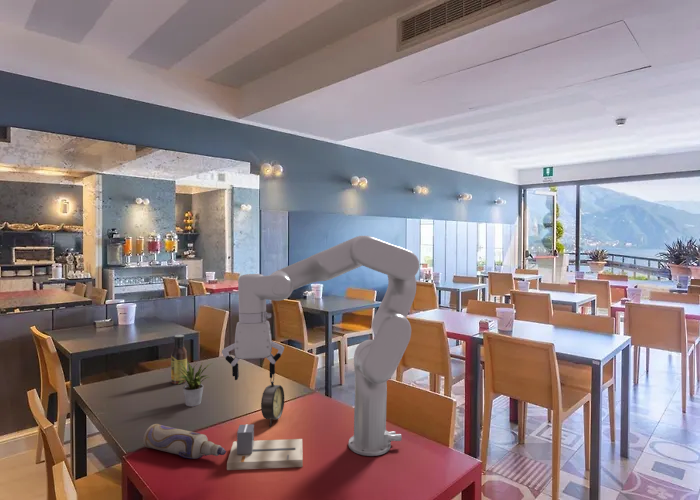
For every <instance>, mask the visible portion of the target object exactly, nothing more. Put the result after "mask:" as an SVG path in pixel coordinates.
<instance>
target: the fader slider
mask: <svg viewBox="0 0 700 500" xmlns="http://www.w3.org/2000/svg"><path fill="white" fill-rule="evenodd" d="M236 441H237V454H252V451H253V446H254V441H255V424H254V423H253V424H248V423H247V424H239V426H238V429H237V433H236Z"/></svg>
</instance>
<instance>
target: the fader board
mask: <svg viewBox="0 0 700 500" xmlns="http://www.w3.org/2000/svg"><path fill="white" fill-rule="evenodd" d="M303 452H304V451H303V438H291V439H287V438H286V439H266V440H263V439H262V440H259V439H258V440H254V446H253V451H252V454H237V440H235V441H233V442H232V446H231V447H230V453H229V455H228V459H227V462H226V470H227V471H237V470H239V471H240V470H241V471H242V470H259V469H261V470H262V469H281V468H303V467H304V466H303V463H304V461H303V459H304V458H303V457H304V456H303V455H304V454H303Z"/></svg>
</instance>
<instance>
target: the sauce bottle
mask: <svg viewBox="0 0 700 500" xmlns="http://www.w3.org/2000/svg"><path fill="white" fill-rule="evenodd" d="M173 340H174V343H173V348H172V351H171V353H170V380H171V384H173V385H178V384H179V382H180V381H182V380H185V379H182V377H181V376H182V375H183V374H184V375H186V374H187V373H186V374H185V373H184V371H185V370H184V368H183V366H182V365H181V364H183V365H184V367H185V369H186V370H187V371H188V363H187V361H188V350H187V348H186V347H185V335H184V334H175V335H174V336H173ZM178 362H179V363H178ZM180 363H181V364H180ZM179 368H180V369H179ZM181 369H182V370H184V371H182V370H181ZM180 371H181V372H182V373H183V374H182V373H181V372H180ZM185 372H186V371H185ZM186 376H187V375H186ZM175 379H178V380H175ZM184 383H187V381H186V380H185V381H184ZM184 383H183V382H182V383H180V384H181V385H182V384H184ZM180 384H179V385H180Z"/></svg>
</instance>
